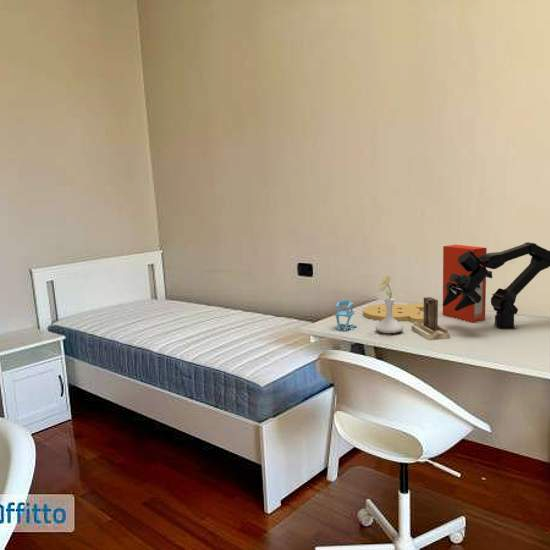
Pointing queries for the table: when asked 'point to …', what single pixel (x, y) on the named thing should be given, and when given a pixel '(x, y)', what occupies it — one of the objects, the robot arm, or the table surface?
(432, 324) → the walnut photo frame
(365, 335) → the table surface
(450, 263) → the file binder
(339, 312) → the chair
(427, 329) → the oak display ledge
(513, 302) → the robot arm
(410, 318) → the decorative plaque
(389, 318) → the flower in vase
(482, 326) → the table surface
